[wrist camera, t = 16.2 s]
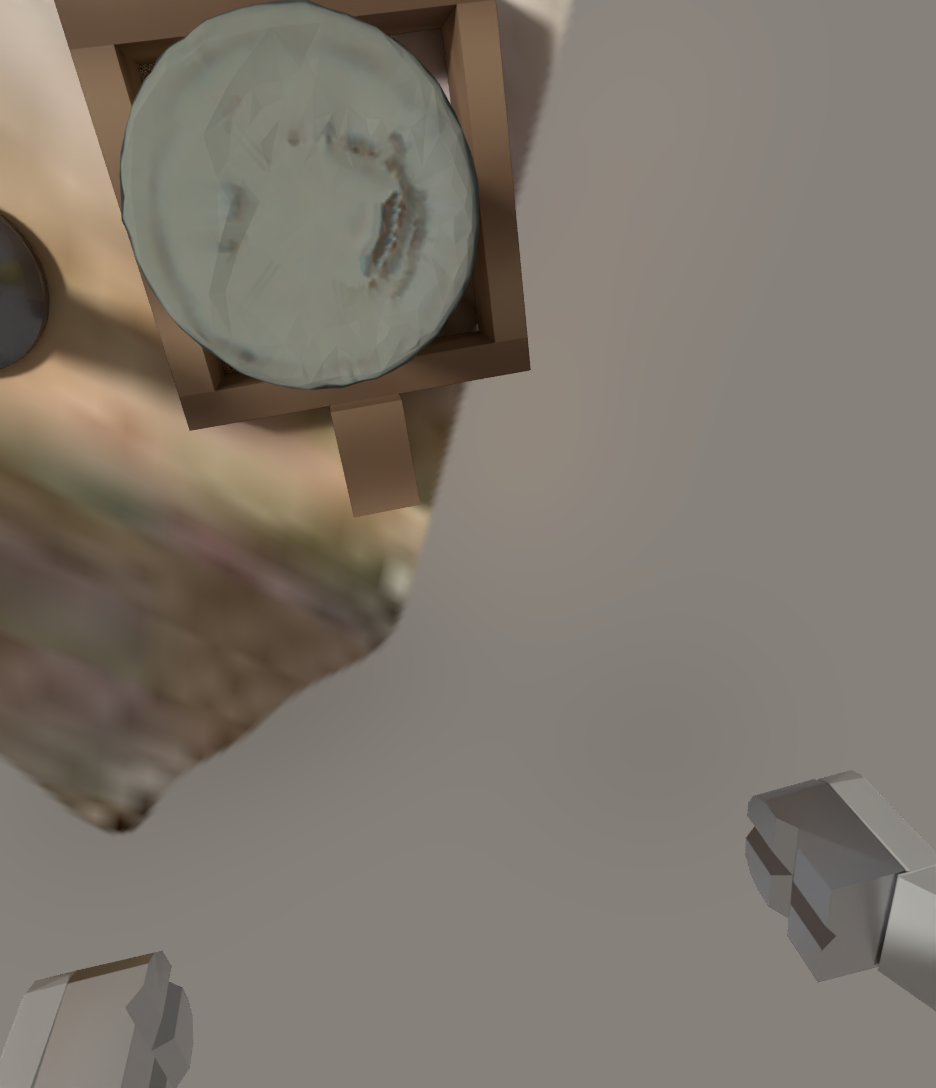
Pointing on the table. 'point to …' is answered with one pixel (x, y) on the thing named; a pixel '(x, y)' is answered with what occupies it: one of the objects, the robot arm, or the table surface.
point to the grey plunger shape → (20, 295)
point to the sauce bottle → (299, 195)
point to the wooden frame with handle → (501, 343)
